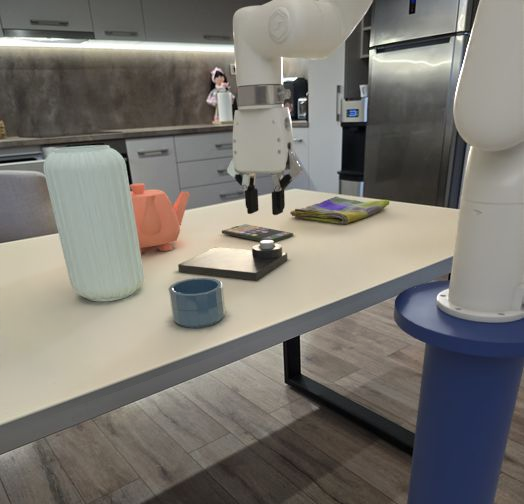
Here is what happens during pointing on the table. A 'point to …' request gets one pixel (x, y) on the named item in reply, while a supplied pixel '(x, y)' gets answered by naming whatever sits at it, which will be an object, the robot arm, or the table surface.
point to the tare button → (266, 244)
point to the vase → (95, 221)
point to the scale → (235, 262)
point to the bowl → (197, 302)
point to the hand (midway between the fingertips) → (265, 212)
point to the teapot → (157, 216)
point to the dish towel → (340, 210)
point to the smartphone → (257, 233)
